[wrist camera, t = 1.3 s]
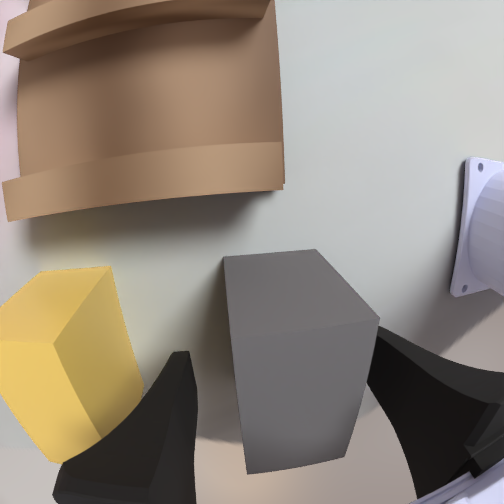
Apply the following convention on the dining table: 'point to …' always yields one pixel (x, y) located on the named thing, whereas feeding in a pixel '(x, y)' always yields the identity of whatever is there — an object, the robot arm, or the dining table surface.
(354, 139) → the dining table surface
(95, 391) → the ochre bar
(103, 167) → the comb rack
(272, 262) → the charcoal bar
